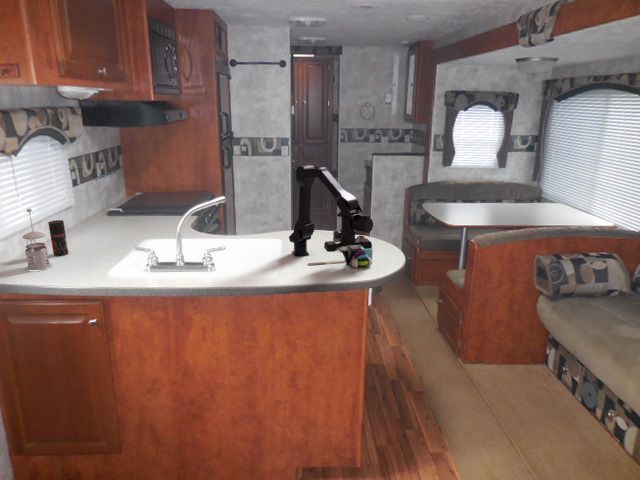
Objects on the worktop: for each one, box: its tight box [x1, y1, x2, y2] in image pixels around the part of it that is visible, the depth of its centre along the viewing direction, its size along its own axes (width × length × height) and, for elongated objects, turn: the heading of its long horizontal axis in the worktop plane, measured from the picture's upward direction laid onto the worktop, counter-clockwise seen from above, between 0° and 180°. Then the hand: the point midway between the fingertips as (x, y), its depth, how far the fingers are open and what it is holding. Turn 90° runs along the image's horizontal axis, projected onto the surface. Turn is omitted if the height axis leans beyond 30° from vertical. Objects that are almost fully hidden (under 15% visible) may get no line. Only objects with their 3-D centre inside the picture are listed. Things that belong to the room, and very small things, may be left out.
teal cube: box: [358, 246, 373, 260], centre depth 216 cm, size 4×4×4 cm
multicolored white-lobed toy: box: [349, 247, 373, 269], centre depth 207 cm, size 8×10×7 cm
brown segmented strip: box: [307, 259, 346, 266], centre depth 211 cm, size 2×23×1 cm, turn 104°
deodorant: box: [48, 219, 69, 257], centre depth 221 cm, size 6×6×15 cm
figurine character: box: [332, 230, 367, 243], centre depth 233 cm, size 7×8×15 cm
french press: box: [22, 208, 53, 271], centre depth 204 cm, size 10×12×25 cm
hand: (347, 264), depth 205 cm, fingers closed
